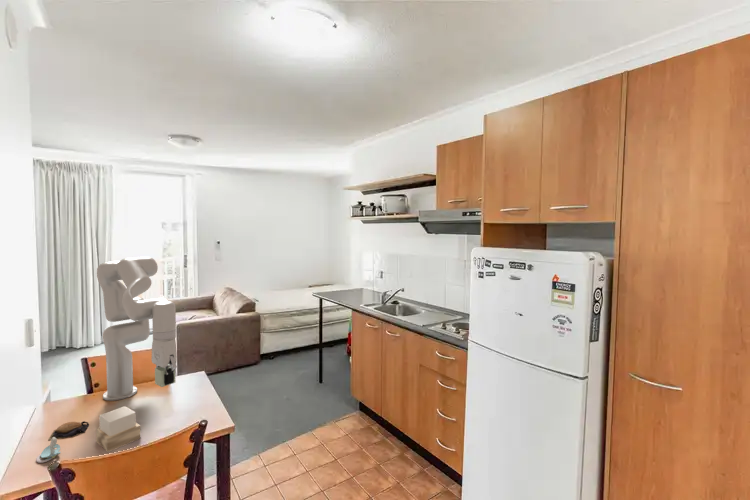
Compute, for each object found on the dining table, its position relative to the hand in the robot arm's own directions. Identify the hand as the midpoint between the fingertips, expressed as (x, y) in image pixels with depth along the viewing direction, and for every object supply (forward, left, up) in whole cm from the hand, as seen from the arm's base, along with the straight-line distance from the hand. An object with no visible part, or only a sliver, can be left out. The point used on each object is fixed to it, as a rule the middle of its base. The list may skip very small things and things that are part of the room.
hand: (165, 381), depth 137 cm
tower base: (-4, -14, -18) cm, 23 cm away
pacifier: (-11, -32, -18) cm, 38 cm away
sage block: (0, 0, -1) cm, 1 cm away
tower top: (-3, -15, -13) cm, 20 cm away
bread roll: (-24, -23, -18) cm, 37 cm away
